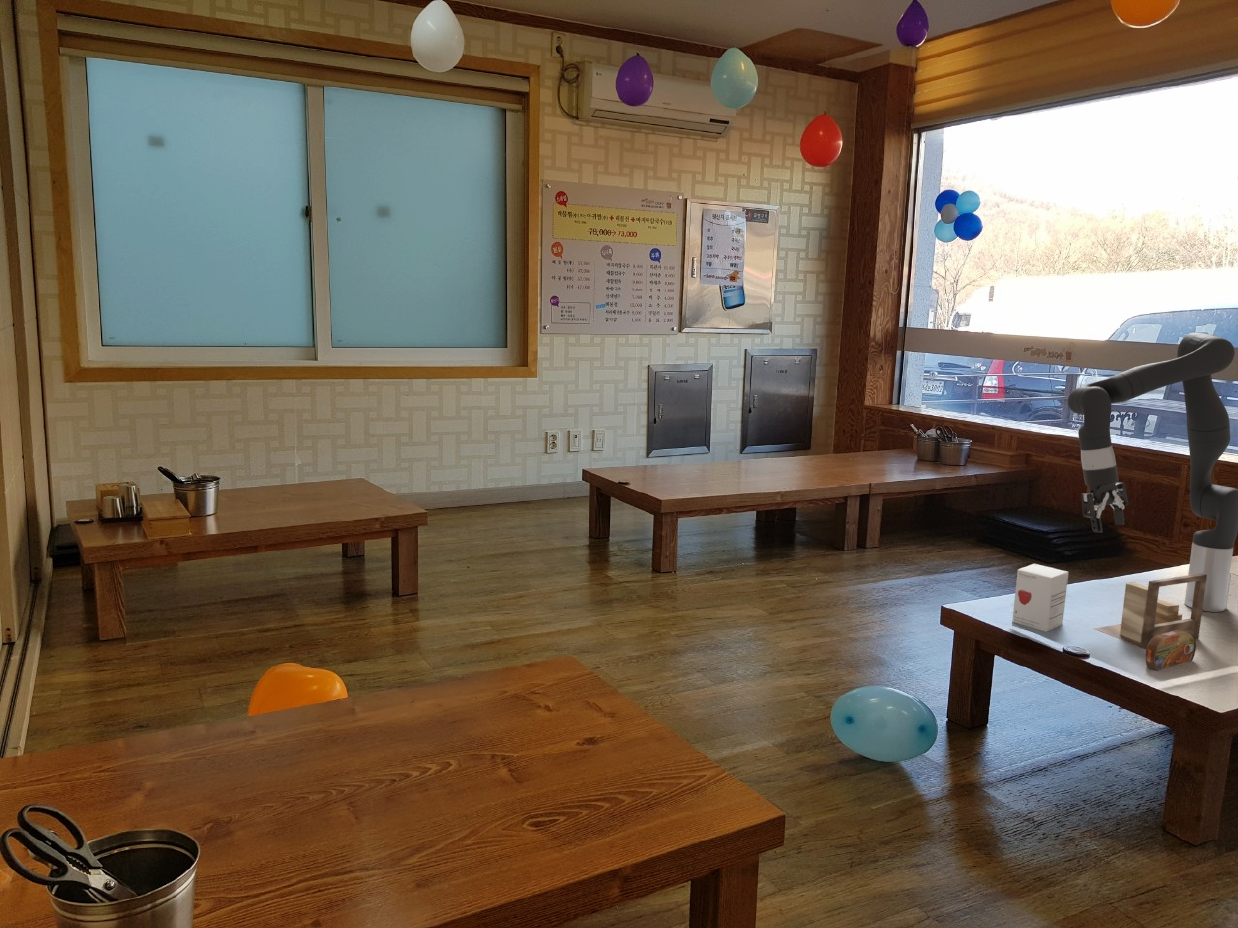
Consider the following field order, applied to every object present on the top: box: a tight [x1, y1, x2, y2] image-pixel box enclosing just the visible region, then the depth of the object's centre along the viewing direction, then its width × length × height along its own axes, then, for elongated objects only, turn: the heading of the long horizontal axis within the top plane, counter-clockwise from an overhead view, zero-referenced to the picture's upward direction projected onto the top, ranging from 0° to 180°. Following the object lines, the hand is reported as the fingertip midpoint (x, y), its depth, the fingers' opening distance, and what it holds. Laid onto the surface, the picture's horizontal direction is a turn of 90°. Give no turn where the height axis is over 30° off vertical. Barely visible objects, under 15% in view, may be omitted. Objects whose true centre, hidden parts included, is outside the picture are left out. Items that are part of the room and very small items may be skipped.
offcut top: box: [1156, 598, 1180, 616], centre depth 220 cm, size 4×5×2 cm
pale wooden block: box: [1120, 581, 1148, 643], centre depth 215 cm, size 3×6×13 cm, turn 22°
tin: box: [1145, 630, 1197, 672], centre depth 201 cm, size 15×3×8 cm, turn 117°
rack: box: [1093, 573, 1207, 650], centre depth 218 cm, size 18×14×17 cm
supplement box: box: [1011, 563, 1069, 633], centre depth 225 cm, size 9×9×15 cm
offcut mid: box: [1155, 612, 1183, 623], centre depth 221 cm, size 4×6×2 cm
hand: (1109, 528), depth 227 cm, fingers open, 8 cm apart
